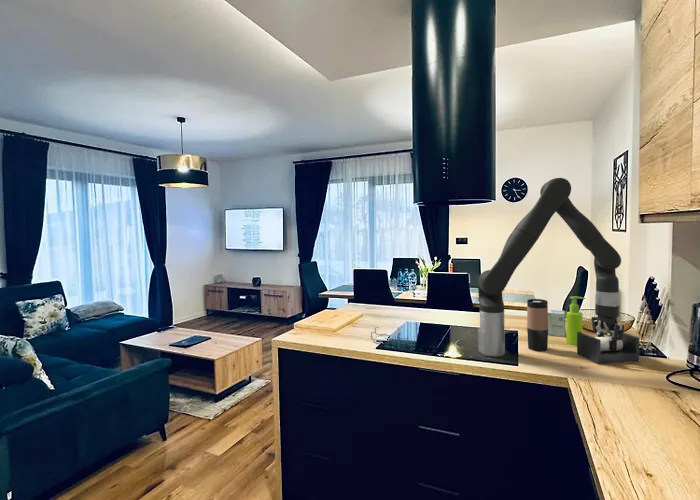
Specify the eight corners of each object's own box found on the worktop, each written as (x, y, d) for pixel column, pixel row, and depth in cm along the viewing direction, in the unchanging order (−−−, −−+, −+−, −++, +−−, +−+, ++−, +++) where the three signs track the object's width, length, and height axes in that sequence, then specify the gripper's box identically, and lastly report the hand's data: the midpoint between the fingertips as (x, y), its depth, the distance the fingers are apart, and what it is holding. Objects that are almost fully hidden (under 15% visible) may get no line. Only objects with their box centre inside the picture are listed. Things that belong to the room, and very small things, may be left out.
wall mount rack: (376, 334, 185) (375, 322, 184) (404, 335, 181) (403, 323, 181) (369, 344, 170) (368, 331, 169) (399, 345, 166) (398, 332, 166)
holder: (597, 364, 136) (597, 340, 136) (577, 354, 147) (577, 331, 147) (639, 361, 137) (639, 337, 137) (616, 351, 148) (616, 329, 148)
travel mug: (547, 346, 157) (547, 299, 156) (548, 352, 150) (548, 302, 149) (527, 345, 160) (526, 298, 159) (527, 350, 153) (527, 301, 152)
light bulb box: (565, 333, 175) (565, 310, 174) (565, 337, 169) (564, 313, 169) (540, 330, 181) (540, 308, 180) (538, 334, 175) (538, 311, 174)
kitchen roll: (599, 342, 138) (589, 334, 143) (596, 354, 140) (586, 346, 145) (627, 340, 139) (616, 333, 144) (623, 352, 141) (613, 344, 146)
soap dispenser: (587, 345, 156) (587, 298, 155) (569, 345, 158) (569, 298, 157) (581, 341, 162) (581, 295, 161) (564, 341, 164) (564, 295, 162)
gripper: (584, 300, 148) (584, 342, 149) (612, 307, 134) (611, 354, 135) (602, 299, 148) (602, 341, 149) (632, 306, 134) (631, 353, 135)
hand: (606, 347), depth 142 cm, fingers closed on kitchen roll, 5 cm apart
